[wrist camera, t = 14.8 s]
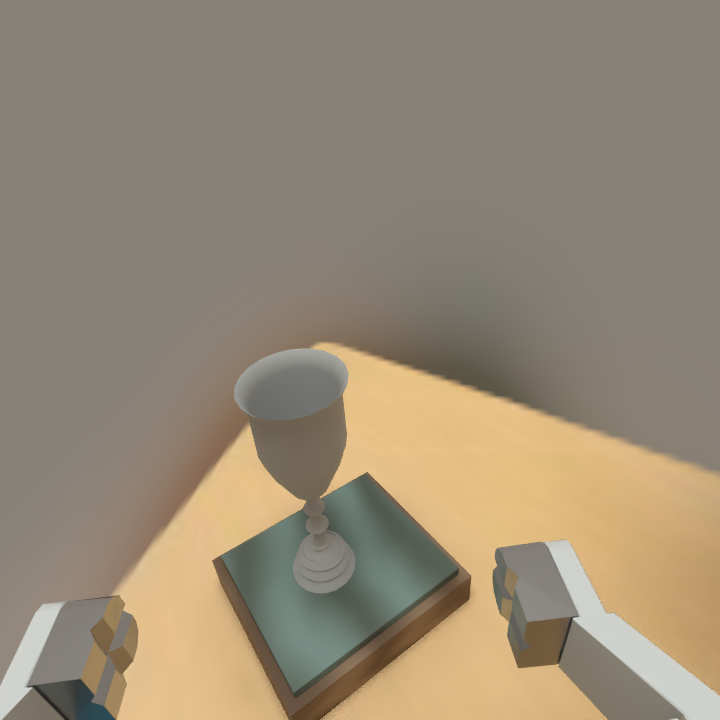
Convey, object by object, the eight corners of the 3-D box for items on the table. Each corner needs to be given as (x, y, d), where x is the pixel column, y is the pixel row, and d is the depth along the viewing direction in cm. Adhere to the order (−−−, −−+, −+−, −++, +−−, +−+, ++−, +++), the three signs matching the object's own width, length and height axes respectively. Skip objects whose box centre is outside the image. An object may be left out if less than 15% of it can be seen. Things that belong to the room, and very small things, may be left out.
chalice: (297, 521, 43) (260, 346, 33) (373, 530, 42) (359, 351, 32) (268, 600, 37) (212, 415, 27) (356, 614, 36) (332, 425, 26)
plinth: (369, 494, 50) (366, 466, 48) (469, 599, 40) (471, 569, 38) (220, 582, 43) (209, 554, 41) (297, 736, 33) (289, 710, 31)
